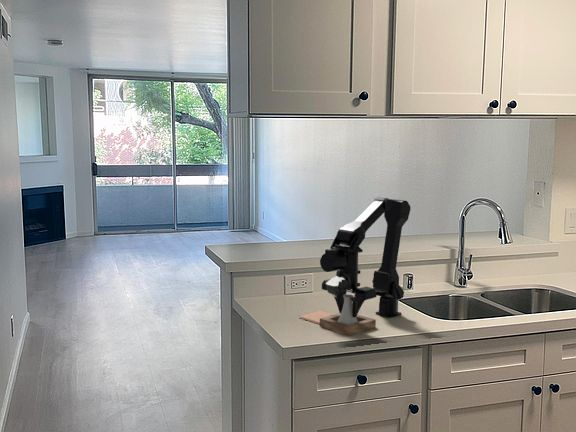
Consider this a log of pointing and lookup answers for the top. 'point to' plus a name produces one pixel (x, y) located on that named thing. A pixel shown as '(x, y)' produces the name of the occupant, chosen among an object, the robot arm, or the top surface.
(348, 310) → the flask
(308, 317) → the terracotta coaster
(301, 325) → the top surface
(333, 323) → the walnut holder
